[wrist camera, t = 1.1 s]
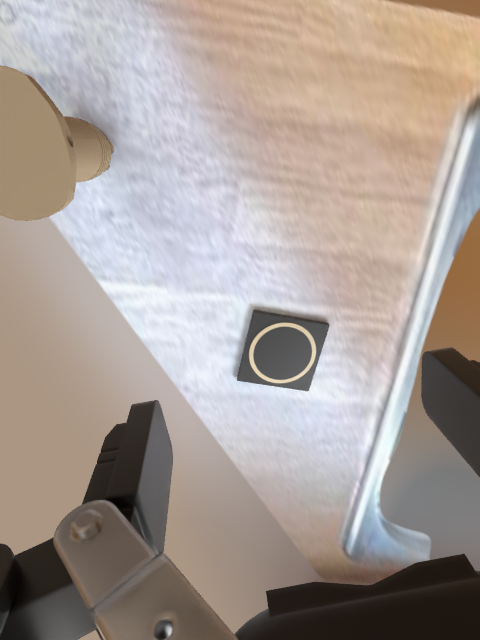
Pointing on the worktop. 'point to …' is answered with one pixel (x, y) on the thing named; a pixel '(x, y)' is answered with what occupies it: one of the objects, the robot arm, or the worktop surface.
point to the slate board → (282, 350)
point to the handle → (42, 150)
